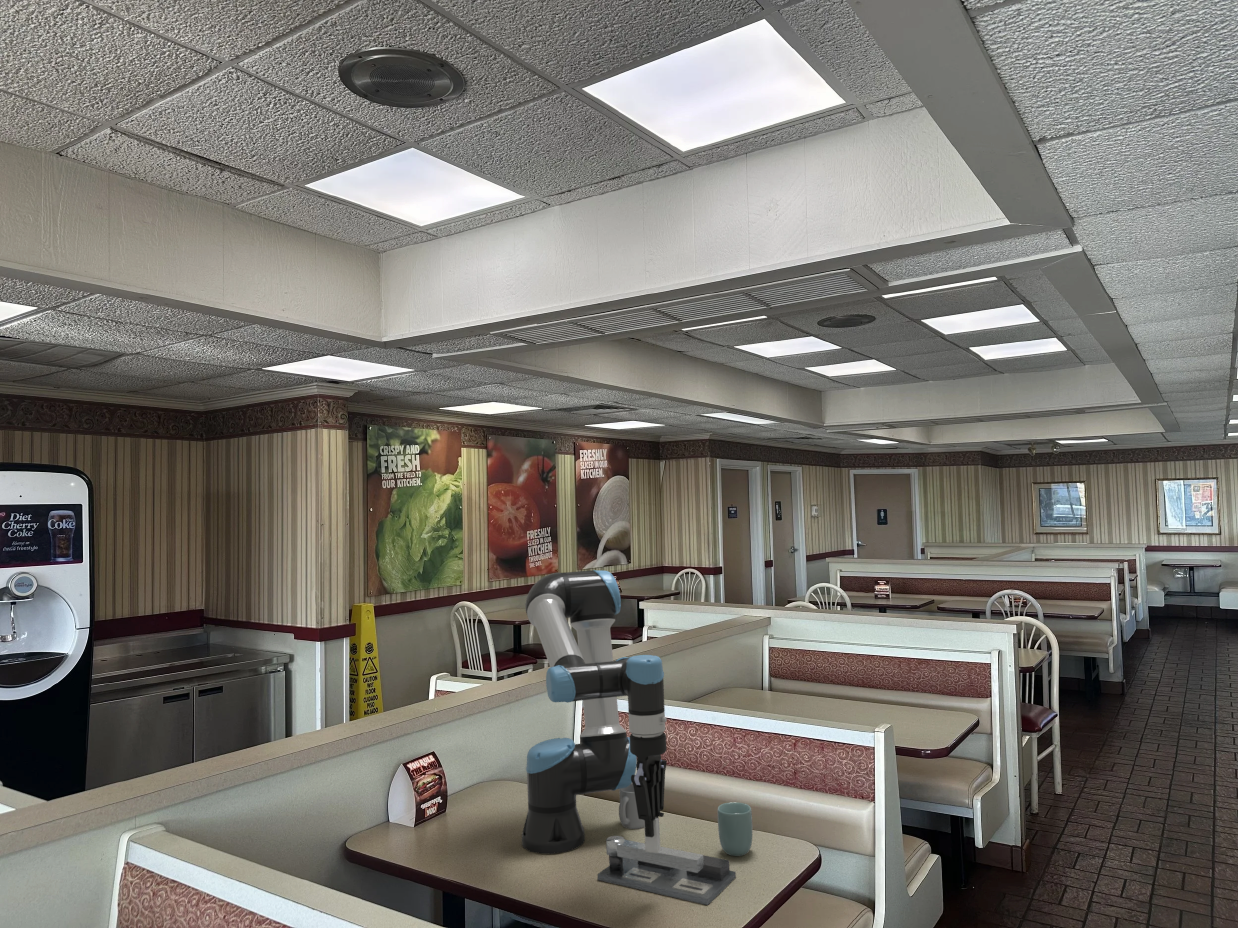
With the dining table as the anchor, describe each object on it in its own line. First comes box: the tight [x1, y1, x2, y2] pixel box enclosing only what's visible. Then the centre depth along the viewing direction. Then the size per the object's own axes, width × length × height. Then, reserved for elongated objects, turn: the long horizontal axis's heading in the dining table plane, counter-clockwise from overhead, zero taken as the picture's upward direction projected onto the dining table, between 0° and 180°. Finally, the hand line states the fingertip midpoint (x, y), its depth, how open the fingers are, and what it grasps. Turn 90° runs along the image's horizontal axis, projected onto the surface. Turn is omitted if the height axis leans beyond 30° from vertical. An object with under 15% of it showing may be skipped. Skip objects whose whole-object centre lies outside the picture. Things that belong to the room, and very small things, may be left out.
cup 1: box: [618, 783, 644, 830], centre depth 210 cm, size 7×10×9 cm
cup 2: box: [717, 801, 753, 857], centre depth 191 cm, size 8×8×10 cm
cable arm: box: [605, 835, 704, 873], centre depth 178 cm, size 22×4×3 cm, turn 59°
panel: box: [597, 854, 737, 906], centre depth 179 cm, size 26×14×4 cm, turn 59°
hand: (652, 850), depth 170 cm, fingers closed
